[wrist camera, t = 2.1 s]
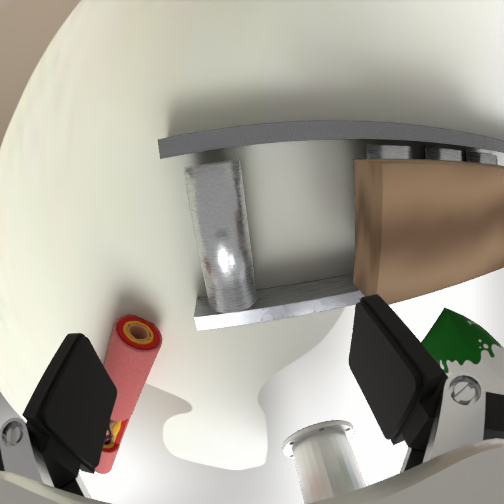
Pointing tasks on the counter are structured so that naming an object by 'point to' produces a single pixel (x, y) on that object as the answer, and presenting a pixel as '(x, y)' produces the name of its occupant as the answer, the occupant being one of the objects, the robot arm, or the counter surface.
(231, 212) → the roller
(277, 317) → the track
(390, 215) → the slab
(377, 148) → the roller
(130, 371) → the artery
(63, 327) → the counter surface
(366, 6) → the counter surface
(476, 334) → the milk carton
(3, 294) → the counter surface
